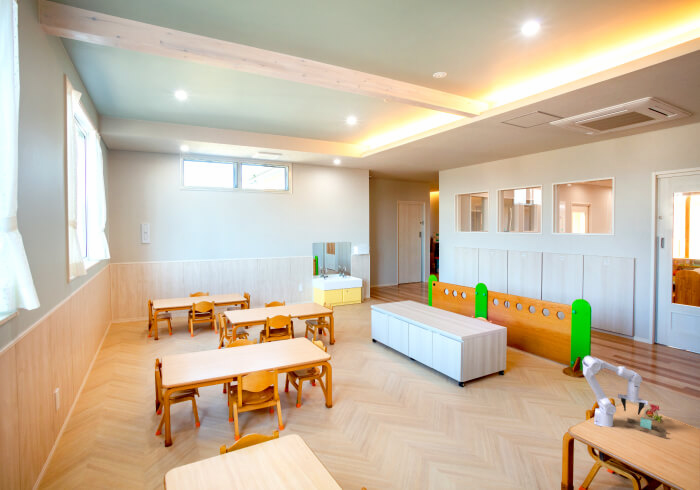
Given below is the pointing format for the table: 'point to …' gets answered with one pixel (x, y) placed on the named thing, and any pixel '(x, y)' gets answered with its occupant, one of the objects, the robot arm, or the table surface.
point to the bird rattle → (650, 413)
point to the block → (645, 423)
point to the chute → (653, 431)
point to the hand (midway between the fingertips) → (631, 412)
